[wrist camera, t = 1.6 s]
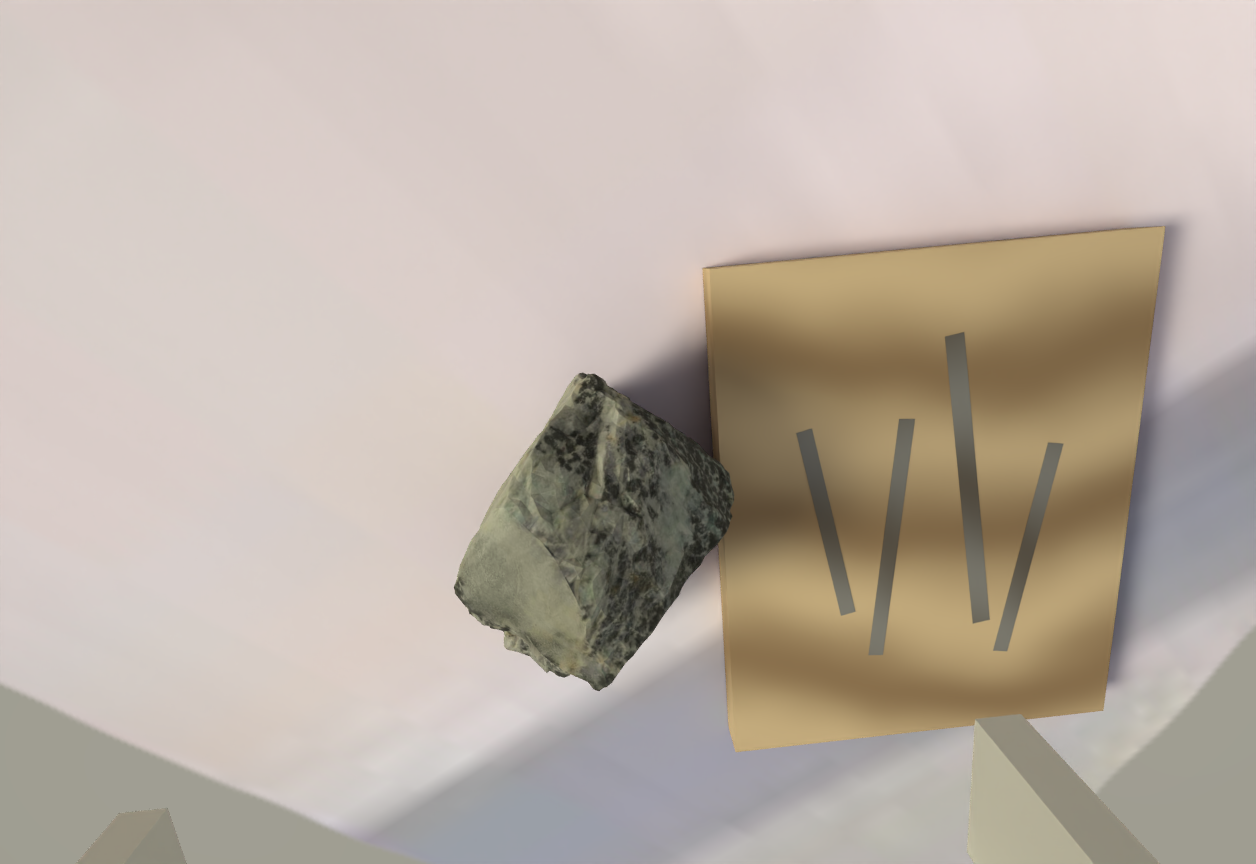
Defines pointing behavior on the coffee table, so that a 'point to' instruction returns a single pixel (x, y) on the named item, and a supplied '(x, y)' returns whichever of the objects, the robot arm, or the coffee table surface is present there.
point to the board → (926, 479)
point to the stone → (594, 534)
